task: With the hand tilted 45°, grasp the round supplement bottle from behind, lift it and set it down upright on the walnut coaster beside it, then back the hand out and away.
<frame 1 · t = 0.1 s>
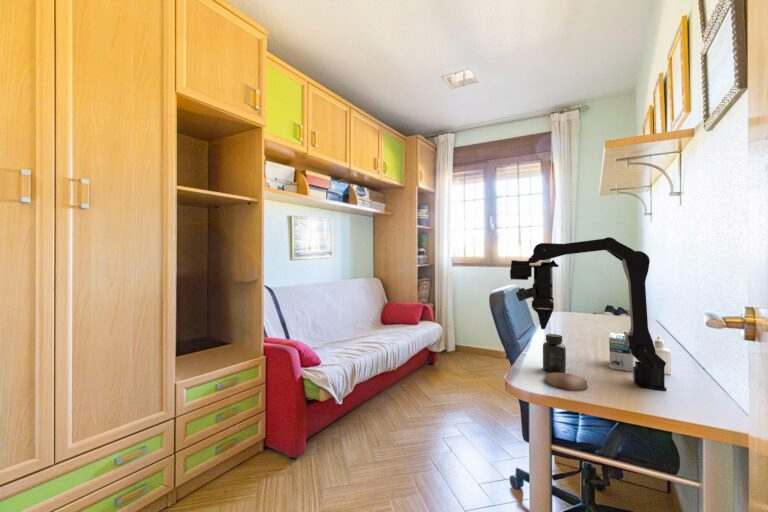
hand: (543, 326, 109), 15 cm above the table, tool pointing down, fingers open, 9 cm apart
walnut coaster: (565, 383, 97), on the table
light bulb box: (621, 367, 114), on the table
eye dropper bottle: (659, 373, 108), on the table
supplement bottle: (554, 372, 109), on the table
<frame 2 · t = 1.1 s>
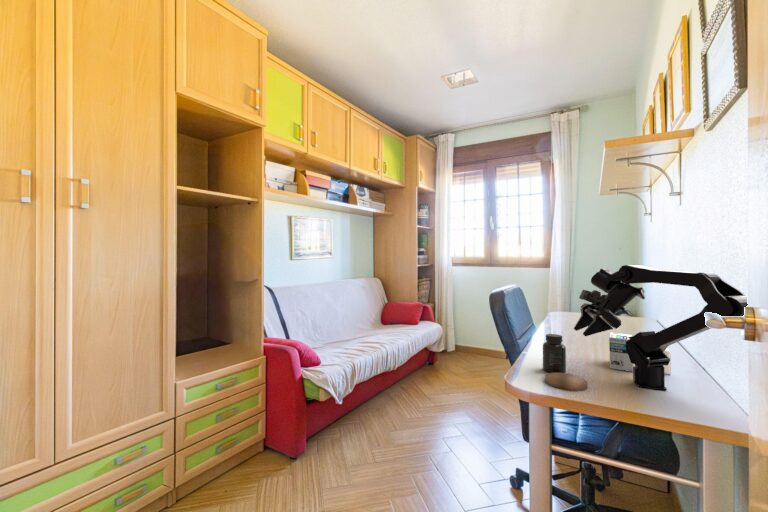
hand: (579, 332, 107), 13 cm above the table, tool tilted 45°, fingers open, 9 cm apart
nothing on the table moved.
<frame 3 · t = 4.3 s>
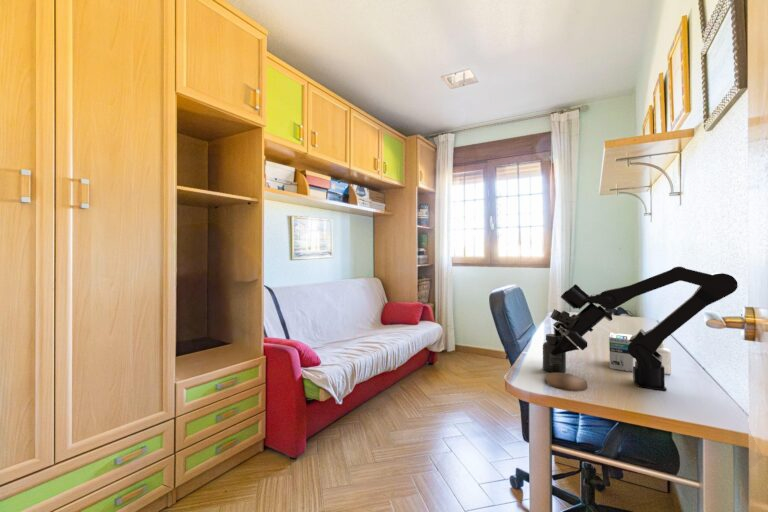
hand: (549, 351, 109), 7 cm above the table, tool tilted 45°, fingers closed on supplement bottle, 7 cm apart
supplement bottle: (554, 372, 109), on the table, touching gripper
everything else where it was.
when the fingers open (9 cm above the table, at t = 8.6 s): supplement bottle stays where it is, resting on walnut coaster.
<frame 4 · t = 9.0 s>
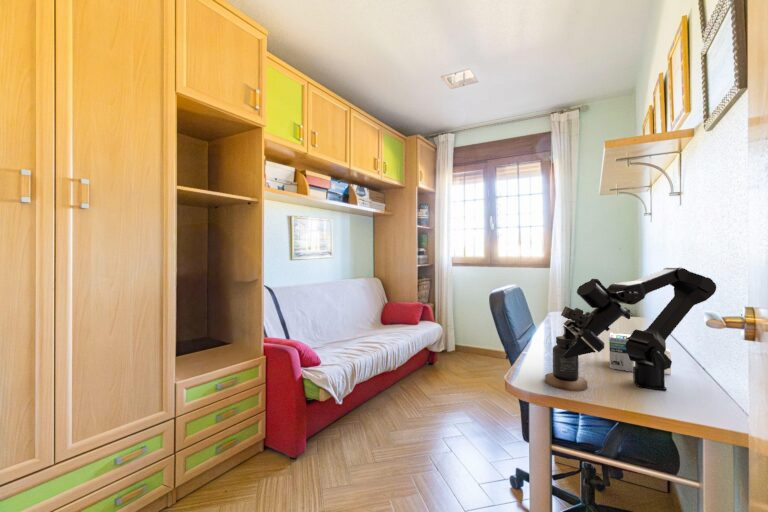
hand: (560, 352, 98), 9 cm above the table, tool tilted 45°, fingers open, 9 cm apart
supplement bottle: (565, 378, 98), point 1 cm above the table, touching walnut coaster
everything else where it was.
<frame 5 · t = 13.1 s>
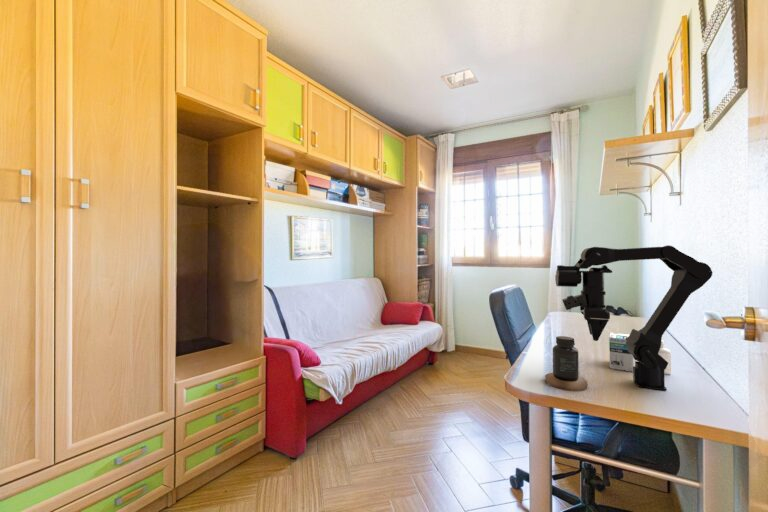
hand: (593, 337, 101), 13 cm above the table, tool pointing down, fingers open, 9 cm apart
nothing on the table moved.
at the end: supplement bottle 0.9 cm off-centre on the walnut coaster, point 1.3 cm above the walnut coaster's base; supplement bottle tilted 0°; the gripper is holding nothing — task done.
